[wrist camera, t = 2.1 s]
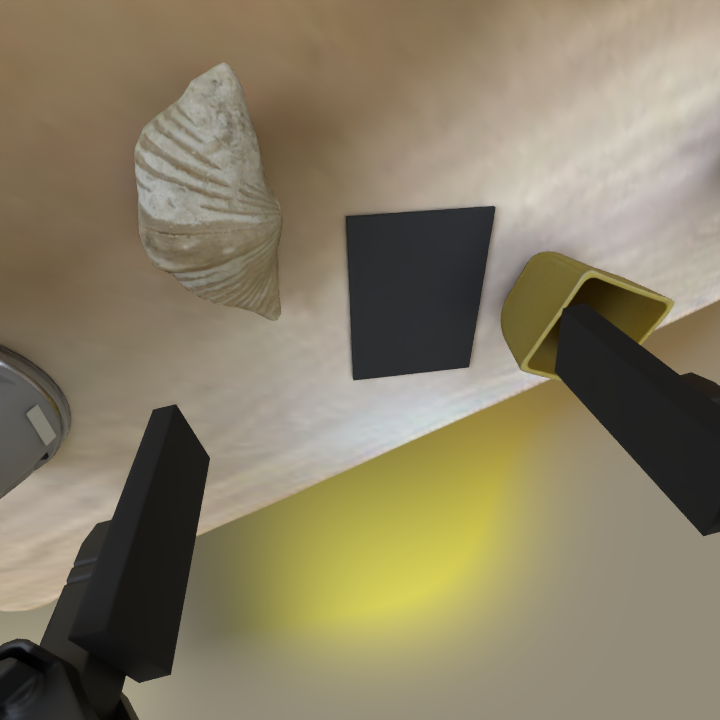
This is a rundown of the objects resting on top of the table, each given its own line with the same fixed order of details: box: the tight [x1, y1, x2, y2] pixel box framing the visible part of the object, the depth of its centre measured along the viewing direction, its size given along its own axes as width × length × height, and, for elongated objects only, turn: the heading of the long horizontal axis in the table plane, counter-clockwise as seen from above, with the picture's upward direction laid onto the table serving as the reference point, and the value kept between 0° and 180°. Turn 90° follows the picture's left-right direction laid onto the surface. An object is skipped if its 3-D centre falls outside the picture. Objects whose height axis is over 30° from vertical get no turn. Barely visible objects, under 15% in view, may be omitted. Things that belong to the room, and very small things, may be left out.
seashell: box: [134, 63, 282, 321], centre depth 27 cm, size 14×9×10 cm
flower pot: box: [501, 252, 675, 381], centre depth 34 cm, size 9×9×9 cm
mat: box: [346, 206, 495, 380], centre depth 37 cm, size 12×16×1 cm
